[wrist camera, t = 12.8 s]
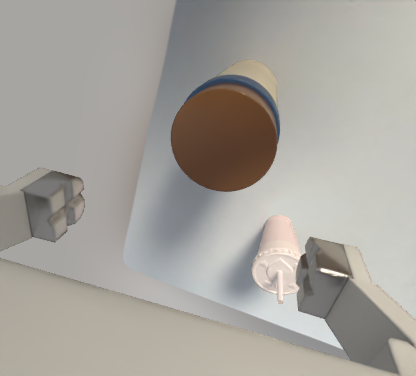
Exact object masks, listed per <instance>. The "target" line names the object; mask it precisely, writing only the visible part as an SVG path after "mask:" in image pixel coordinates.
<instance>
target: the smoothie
mask: <svg viewBox="0 0 416 376" xmlns="http://www.w3.org/2000/svg"><path fill="white" fill-rule="evenodd" d="M301 256H302V254H301V251H300V247H299V244H298V241H297V238H296V235H295V231H294V228H293V225H292V222H291V221H290V220H289V219H288V218H287V217H285V216H282V215H275V216H272V217H270V218H269V219H268V220H267V222H266V225H265V229H264V232H263V236H262V240H261V243H260V247H259V250H258V253H257V256H256V257H255V258H254V260H253V262H252V277H253V279H254V281H255V283H256V284H257V285H258V286H259V287H260V288H262V289H263V290H265V291H267V292H270V293H273V294H277V300H278V304H283V295H287V294H292V293H295V292H297V291H298V290H299V287H298V285H297V284H296V269H297V265H298V262H299V259H300V257H301Z"/></svg>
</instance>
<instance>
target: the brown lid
mask: <svg viewBox="0 0 416 376" xmlns="http://www.w3.org/2000/svg"><path fill="white" fill-rule="evenodd" d="M171 146H172V150H173V154H174V156H175V159H176V161H177V163H178V165H179V166H180V168H181V169H182V170H183V172H184V173H185V174H186V175H187V176H188V177H189V178H190V179H192V180H193V181H194V182H196V183H198V184H199V185H201V186H203V187H206V188H208V189H211V190H216V191H224V192H228V191H237V190H241V189H244V188H247V187H249V186H251V185H253V184H254V183H256V182H257V181H259V180H260V179H261V178H262V177H263V176H264V175H265V174H266V173H267V171H268V170H269V169H270V167H271V165H272V163H273V161H274V158H275V155H276V151H277V124H276V119H275V116H274V113H273V111H272V109H271V107H270V106H269V104H268V103H267V101H266V100H265V99H264V98H263V97H262V96H261V95H260V94H259V93H257V92H256V91H254V90H253V89H251V88H249V87H247V86H245V85H241V84H237V83H218V84H214V85H211V86H209V87H206V88H204V89H203V90H201V91H200V92H198V93H197V94H196V95H194V96H193V97H192V98H190V99H189V100H188V101H187V102H186V103H185V104H184V105H183V106H182V107H181V108H180V110H179V111H178V113H177V115H176V117H175V119H174V122H173V125H172V130H171Z"/></svg>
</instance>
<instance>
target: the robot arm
mask: <svg viewBox="0 0 416 376" xmlns="http://www.w3.org/2000/svg"><path fill="white" fill-rule="evenodd" d="M83 190H84V185H83V180H82V179H81V178H79V177H75V176H71V175H68V174H64V173H61V172H57V171H53V170H49V169H45V168H37V169H36V170H34V171H32V172H30V173H29V174H27V175H25V176H23V177H21V178H20V179H18V180H16V181H15V182H13V183H11V184H9V185H7V186H0V251H2V250H4V249H7V248H9V247H12V246H14V245H16V244H19V243H21V242H23V241H26V240H28V239H30V238H32V237H35V238H39V239H43V240H47V241H51V242H56V241H57V240H58V239H59V238H60V237H61V236H63V235H64V234H65V233H66V232H67V226H69V225H72V224H75V223H76V222H77V221H78V220H79V219H80V218H81V216H82V214H83V212H84V207H85V200H84V198H83V197H82V195H81V194H80V193H81V192H82V191H83ZM305 251H306V253H305V254H304V255H302V256H301V257H300V259H299V262H298V265H297V269H296V284H297V285H298V287H299V290H298V292H297V303H298V311H300V312H304V313H307V314H310V315H313V316H316V317H320V318H323V319H325V321H326V323H327V324H328V326H329V327H330V329H331V330H332V332H333V334H334V335H335V337H336V338H337V340H338V341H339V343H340V344H341V346H342V347H343V349H344V351H345V352H346V354H347V355H348V357H349V358H350V360H351V361H350V360H347V359H343V358H340V357H337V356H333V355H330V354H326V353H323V352H320V351H316V350H313V349H309V348H306V347H302V346H299V345H295V344H292V343H288V342H285V341H281V340H278V339H274V338H271V337H268V336H265V335H261V334H258V333H254V332H251V331H248V330H244V329H241V328H237V327H234V326H230V325H227V324H223V323H220V322H217V321H213V320H210V319H207V318H203V317H200V316H197V315H193V314H190V313H186V312H183V311H180V310H176V309H173V308H169V307H166V306H163V305H159V304H156V303H152V302H149V301H145V300H142V299H139V298H135V297H132V296H128V295H125V294H121V293H118V292H115V291H111V290H108V289H104V288H101V287H97V286H94V285H91V284H87V283H83V282H80V281H77V280H73V279H70V278H66V277H63V276H60V275H56V274H53V273H50V272H46V271H43V270H39V269H36V268H32V267H29V266H25V265H22V264H19V263H15V262H12V261H9V260H5V259H1V258H0V376H416V320H415V319H414V318H413V317H412V316H411V315H410V314H409V313H408V312H407V311H405V310H404V309H403V308H402V307H401V306H400V305H399V304H398V303H397V302H396V301H394V300H393V299H392V298H391V297H390V296H389V295H388V294H387V293H386V292H385V291H384V290H382V289H381V288H380V287H379V286H378V285H375V284H373V283H372V281H371V278H370V275H369V273H368V270H367V268H366V265H365V263H364V260H363V258H362V255H361V253H360V250H359V249H358V248H357V247H353V246H348V245H344V244H338V243H334V242H330V241H326V240H321V239H317V238H313V237H310V238H309V239H308V240H307V243H306V245H305Z"/></svg>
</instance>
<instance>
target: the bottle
mask: <svg viewBox="0 0 416 376" xmlns="http://www.w3.org/2000/svg"><path fill="white" fill-rule="evenodd" d="M218 83H237V84H241V85H245V86H247V87H249V88H251V89H253V90H254V91H256V92H257V93H259V94H260V95H261V96H262V97H263V98H264V99H265V100H266V101H267V103H268V104H269V106H270V107H271V109H272V111H273V113H274V116H275V119H276V124H277V144H278V140H279V134H280V122H279V113H278V99H277V83H276V80H275V77H274V75H273V73H272V72H271V71H270V70H269V68H268V67H266V66H265V65H264V64H262V63H260V62H257V61H253V60H245V61H240V62H237V63H235V64H233V65H232V66H230V67H229V68H228V69H226V70H225V71H223V72H222V73H220V74H219V75H218V76H216V77H215V78H213V79H210V80H209V81H207V82H205V83H204V84H202V85H201V86H199V87H198V88H197V89H196V90H194V91H193V92H192V93H191V95H190V96H189V97H188V98H187V100H186V101H185V103H186V102H187V101H188V100H189V99H190V98H192V97H193V96H194V95H196V94H197V93H198V92H200V91H201V90H203V89H204V88H206V87H209V86H211V85H214V84H218ZM185 103H184V104H185Z"/></svg>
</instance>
